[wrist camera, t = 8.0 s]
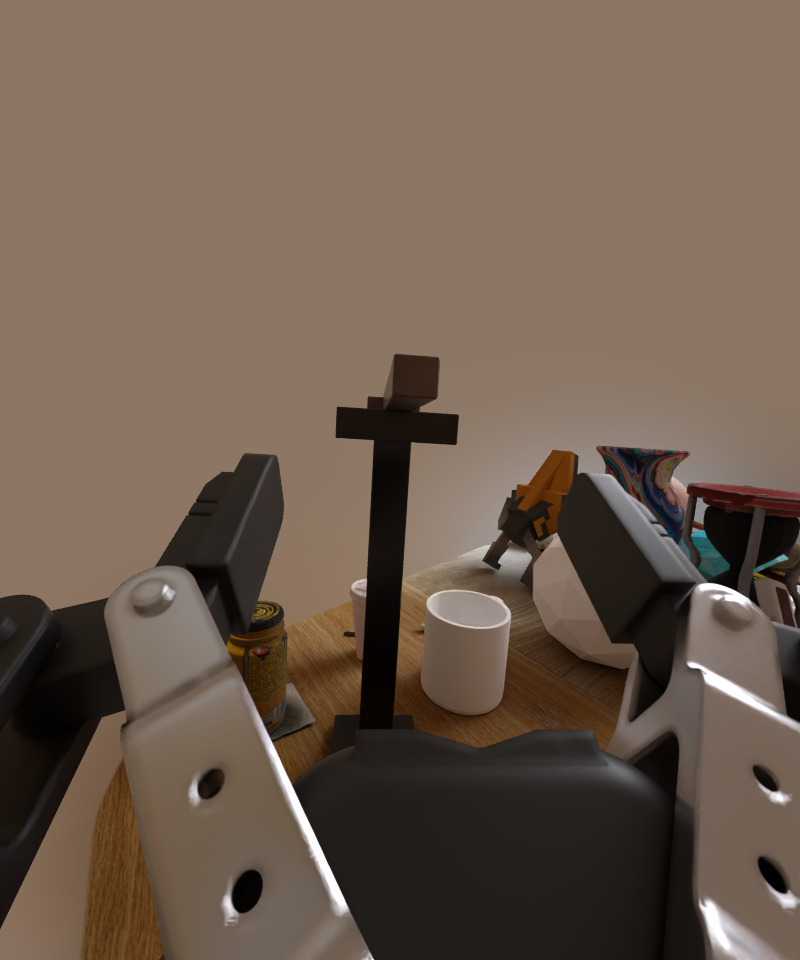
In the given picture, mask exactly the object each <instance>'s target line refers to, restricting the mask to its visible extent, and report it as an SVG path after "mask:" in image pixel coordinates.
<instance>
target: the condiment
mask: <svg viewBox="0 0 800 960" xmlns="http://www.w3.org/2000/svg"><path fill="white" fill-rule="evenodd" d="M283 617H284V611H283V608H282V607H281V606H280V605H278V604H277V603H274V602H268V601H257V604H256V607H255V611H254V614H253V617H252V620H251V623H250V626H249V630H248V633H247V635H230V638H229V641H228V643H227V646H226V648H227V650H228V652H229V655H230V657H231V659H232V661H234V663H235V664H236V666H237V668H238V670H239V672H240V675H241V677H242V679H243V681H244V683H245V685H246V688H247V690H248V692H249V694H250V696H251V698H252V701H253V703H254V705H255V707H256V709H257V711H258V714H259V716H260V718H261V720H262V722H263V724H264V727H265V729H266V731H267V733H268V735H269V737H270V740H271V741H272V740H274V739H277V738H279V737H280V736H282V735H284V734H288V733H290V732H292V731H295V730H298V729H300V728H302V727H303V726H305V725H307V724H310V723H312V722H315V721H316V720H315V718H314V717H313V716H312V714H311V713H310V711H309V710H308V708H307V707H306V705H305V703H304V702H303V700H302V699H301V697H300V695H299V693H298V692H297V690H296V689H295V687H294V685H293V683H289V684H286V673H287V633H286V631H285V630H284V620H283Z"/></svg>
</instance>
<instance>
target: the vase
mask: <svg viewBox="0 0 800 960" xmlns="http://www.w3.org/2000/svg"><path fill="white" fill-rule="evenodd" d="M596 449H597V451H598V452H599V453H600V454H601V456H602V457H603V459H604V462H605V464H606V470H605V474H610V475H612V476H613V477H614V478H615V479H616V480H617V482H618V483H619V484H620V485H621V487H622V488H623V489H624V490H625V492H626V493H627V494H629V495H631V496H632V497H633V498H635V499H636V500H637V501H639V502H640V503H642V504H643V505H644V506H646V507H647V509H648V510H649V511H650V512H651V514H652V515H653V516H654V517H655V518H656V520H657V521H658V525H661V526H662V527H663V528H664V529H665V531H666V532H667V533H668V537H671V538H672V539H673V540H674V542H675V543H676V544H677V545H678V544H679V542H680V541H681V539H682V533H683V527H684V521H685V512H684V509H683V507H682V505H681V502H680V500H679V498H678V496H677V494H676V492H675V490H674V487H673V485H672V483H671V478H672V474H673V470H674V469H675V468H676V467H677V465H678V464H679V463H680V462H681V461H683V460H684V459H685V458H687V457H688V456H689V455H690V453H689V452H685V451H673V450H657V449H642V448H626V447H610V446H597V447H596Z"/></svg>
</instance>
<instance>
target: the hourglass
mask: <svg viewBox="0 0 800 960" xmlns="http://www.w3.org/2000/svg"><path fill="white" fill-rule="evenodd" d="M687 494H689V497H688V503H687V509H686V515H685V521H684V527H683V533H682V537H683V541H684V543H685V545H686V546H687V548H688V549H689V550H690V559H691V560H690V561H691V562H692V564H693V565H694V566H695V567H696V568H697V569H698V567H699V565H700V563H701V557H700V551H699V550H698V549H697V548H696V546H695V545H694V543H693V540H692V537H691V534H692V527H693V521H694V515H695V509H696V502H697V497H699V498H703V502H704V503H706V504H708V505H710V506H709V507H707V509H706V511H705V514H704V531H705V533H706V536H707V538H708V539H709V541H710V542H711V544H712V545H713V546H714V548H715V549H716V550H717V551H718V552H719V553H720V555H721V556H722V557H723V558H724V559H725V560H726V561H727V562H728V563H729V564H730V567H729V570H727V571H724V572H722V573H720V574H718V575H716V576H714V577H712V578H710V579H708V580H706V581H707V582H708V583H710V584H717V585H721V586H724V587H727V588H729V589H732V590H734V591H736V592H738V593H740V594H741V595H743V596H745V597H746V598H748V599H749V600H751V601H752V602H753V603H755V604H756V605H757V606H758V607H759V608H760V605H759V602H758V599H757V593H756V588H755V585H754V581H755V580H756V579H755V578H754V577H753V571H754V569H755V568H757V567H759V566H762V565H764V564H766V563H768V562H770V561H772V560H774V559H776V558H778V557H780V556H781V555H783V554H785V553H786V552H787V551H788V550H789V549H791V548H792V547H793V546H794V544H795V542H796V539H797V537H798V534H799V529H800V522H799V519H798V518H797V517H800V493H797V492H790V491H782V490H773V489H764V488H756V487H752V486H735V485H723V484H709V483H690V484H688V487H687ZM799 575H800V563H799V564H797V565H795V566H792V567H790V568H789V569H788V571H787V573H786V574H785V576H784V577H783V580H784V585H786V588H787V590H788V593H789V595H790V596H791V597H792V598H793V601H794V604H795V612H794V617H795V620H796V624H797V628H798V629H800V594H799V592H798V591H797V579H798V577H799Z"/></svg>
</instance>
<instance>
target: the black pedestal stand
mask: <svg viewBox="0 0 800 960" xmlns="http://www.w3.org/2000/svg"><path fill="white" fill-rule="evenodd" d="M458 419H459V415H456V414H441V413H426V412H411V411H395V410H380V409H365V408H350V407H337V415H336V438H348V439H364V440H374V451H373V470H372V490H371V508H370V528H369V529H370V530H369V547H368V567H367V586H366V605H365V624H364V643H363V663H362V682H361V701H360V715H336V716H335V723H334V730H333V738H332V745H331V752H330V755H332V754H334V753H336V752H338V751H340V750H342V749H346V748H349V747H352V746H355V737H356V729H414V725H413V717H412V715H394V701H395V686H396V670H397V655H398V639H399V624H400V608H401V593H402V577H403V561H404V545H405V530H406V515H407V499H408V483H409V468H410V453H411V442H416V443H432V444H449V445H456V444H457V432H458Z"/></svg>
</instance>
